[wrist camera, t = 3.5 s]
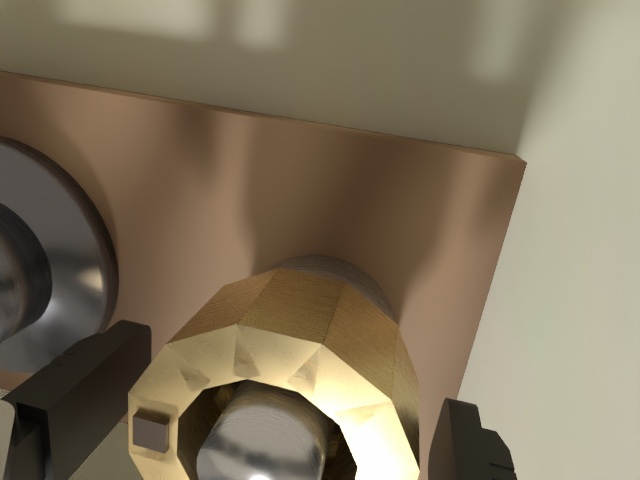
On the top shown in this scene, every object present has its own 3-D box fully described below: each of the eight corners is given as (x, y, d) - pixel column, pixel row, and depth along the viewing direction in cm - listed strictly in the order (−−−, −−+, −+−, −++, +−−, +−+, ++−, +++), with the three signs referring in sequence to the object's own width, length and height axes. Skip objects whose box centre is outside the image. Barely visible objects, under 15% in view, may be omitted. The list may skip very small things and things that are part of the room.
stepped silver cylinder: (410, 272, 14) (407, 409, 8) (380, 406, 16) (358, 602, 10) (253, 240, 15) (139, 343, 9) (240, 371, 17) (139, 533, 10)
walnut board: (515, 155, 14) (526, 162, 12) (423, 474, 18) (424, 506, 17) (-87, 56, 17) (-133, 53, 15) (-41, 349, 21) (-74, 367, 20)
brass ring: (439, 301, 11) (448, 378, 8) (389, 495, 13) (381, 611, 10) (195, 249, 12) (123, 301, 9) (186, 438, 14) (125, 530, 11)
